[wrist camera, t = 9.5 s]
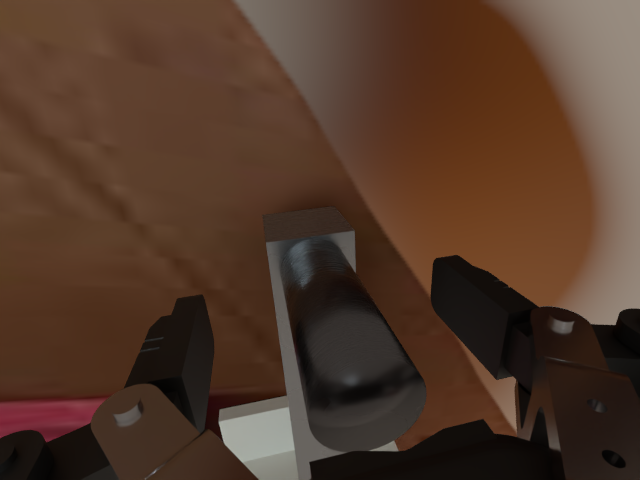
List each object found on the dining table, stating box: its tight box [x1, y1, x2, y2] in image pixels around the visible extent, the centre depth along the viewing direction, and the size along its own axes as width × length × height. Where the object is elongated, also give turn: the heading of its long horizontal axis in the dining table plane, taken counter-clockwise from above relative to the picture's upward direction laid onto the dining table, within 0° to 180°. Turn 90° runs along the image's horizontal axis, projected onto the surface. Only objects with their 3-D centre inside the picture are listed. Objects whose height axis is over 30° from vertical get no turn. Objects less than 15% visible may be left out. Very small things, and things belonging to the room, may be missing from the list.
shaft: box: [262, 206, 426, 480], centre depth 17 cm, size 4×24×11 cm, turn 4°
